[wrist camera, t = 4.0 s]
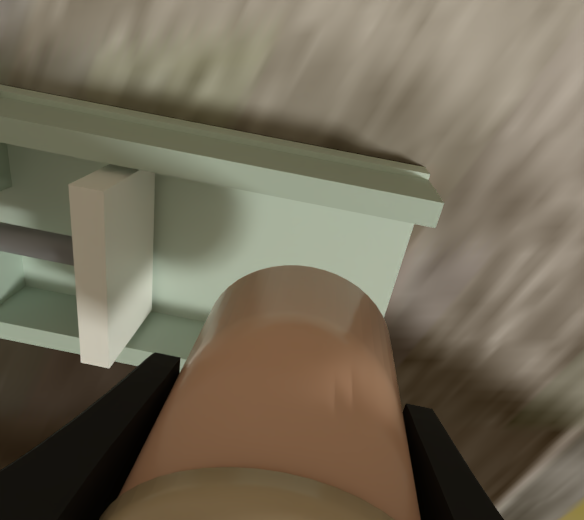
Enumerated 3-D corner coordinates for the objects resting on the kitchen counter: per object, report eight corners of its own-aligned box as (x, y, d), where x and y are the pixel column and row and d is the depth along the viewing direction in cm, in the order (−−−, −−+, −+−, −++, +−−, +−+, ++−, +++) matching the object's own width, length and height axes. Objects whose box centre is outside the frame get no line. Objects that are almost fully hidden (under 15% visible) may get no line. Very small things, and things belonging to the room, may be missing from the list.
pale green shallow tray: (364, 358, 20) (371, 449, 15) (25, 289, 20) (-67, 359, 15) (424, 167, 16) (459, 214, 11) (-3, 84, 16) (-138, 97, 11)
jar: (369, 432, 13) (393, 759, 7) (197, 400, 13) (78, 693, 7) (417, 282, 11) (517, 583, 5) (207, 244, 11) (40, 489, 5)
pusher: (151, 309, 18) (109, 368, 15) (-33, 272, 18) (-116, 322, 15) (155, 160, 15) (103, 191, 12) (-64, 117, 15) (-177, 136, 12)
